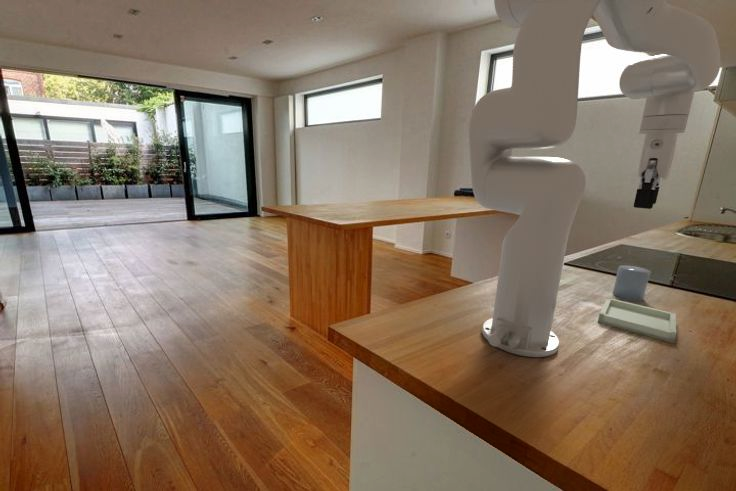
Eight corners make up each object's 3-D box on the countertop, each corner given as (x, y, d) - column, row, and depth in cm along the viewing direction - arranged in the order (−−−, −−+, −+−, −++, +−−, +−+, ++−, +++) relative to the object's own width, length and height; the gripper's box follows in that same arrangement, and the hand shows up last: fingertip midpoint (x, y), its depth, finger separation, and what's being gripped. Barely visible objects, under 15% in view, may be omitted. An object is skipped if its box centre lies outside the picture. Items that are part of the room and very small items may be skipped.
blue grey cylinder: (642, 303, 78) (649, 275, 76) (611, 296, 82) (617, 269, 80) (643, 296, 82) (650, 269, 81) (614, 289, 86) (620, 263, 84)
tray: (673, 343, 61) (676, 334, 60) (597, 322, 68) (599, 313, 68) (673, 321, 69) (675, 313, 69) (605, 304, 77) (607, 297, 76)
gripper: (685, 122, 63) (664, 212, 68) (686, 127, 76) (668, 203, 80) (635, 124, 68) (618, 208, 73) (644, 128, 81) (629, 200, 85)
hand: (644, 205), depth 77 cm, fingers open, 9 cm apart
